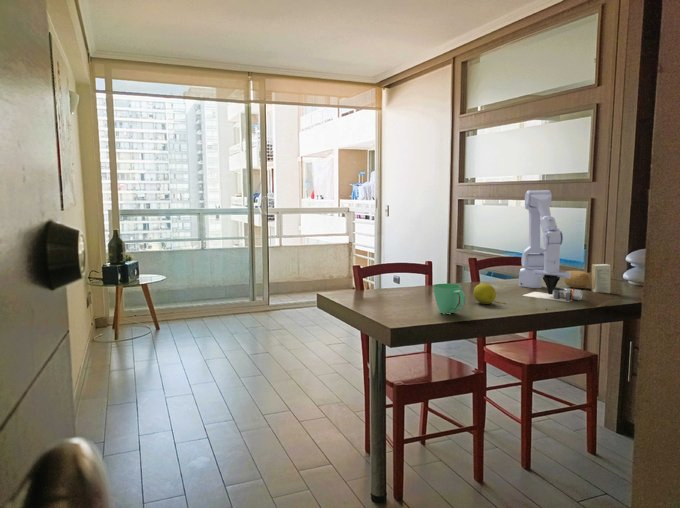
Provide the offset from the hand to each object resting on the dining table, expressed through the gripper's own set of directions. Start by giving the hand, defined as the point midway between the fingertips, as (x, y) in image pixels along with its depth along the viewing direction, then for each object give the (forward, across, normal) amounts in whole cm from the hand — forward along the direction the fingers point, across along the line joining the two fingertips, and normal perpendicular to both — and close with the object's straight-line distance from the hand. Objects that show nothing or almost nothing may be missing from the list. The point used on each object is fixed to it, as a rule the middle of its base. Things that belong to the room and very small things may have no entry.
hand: (551, 294), depth 203 cm
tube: (+1, +6, 0) cm, 7 cm away
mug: (+2, -14, -50) cm, 52 cm away
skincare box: (+2, +10, +24) cm, 26 cm away
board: (+2, 0, 0) cm, 2 cm away
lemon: (+2, -15, -26) cm, 30 cm away
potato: (+2, -2, +29) cm, 29 cm away
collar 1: (+2, +4, 0) cm, 4 cm away
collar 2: (+2, +8, 0) cm, 9 cm away
